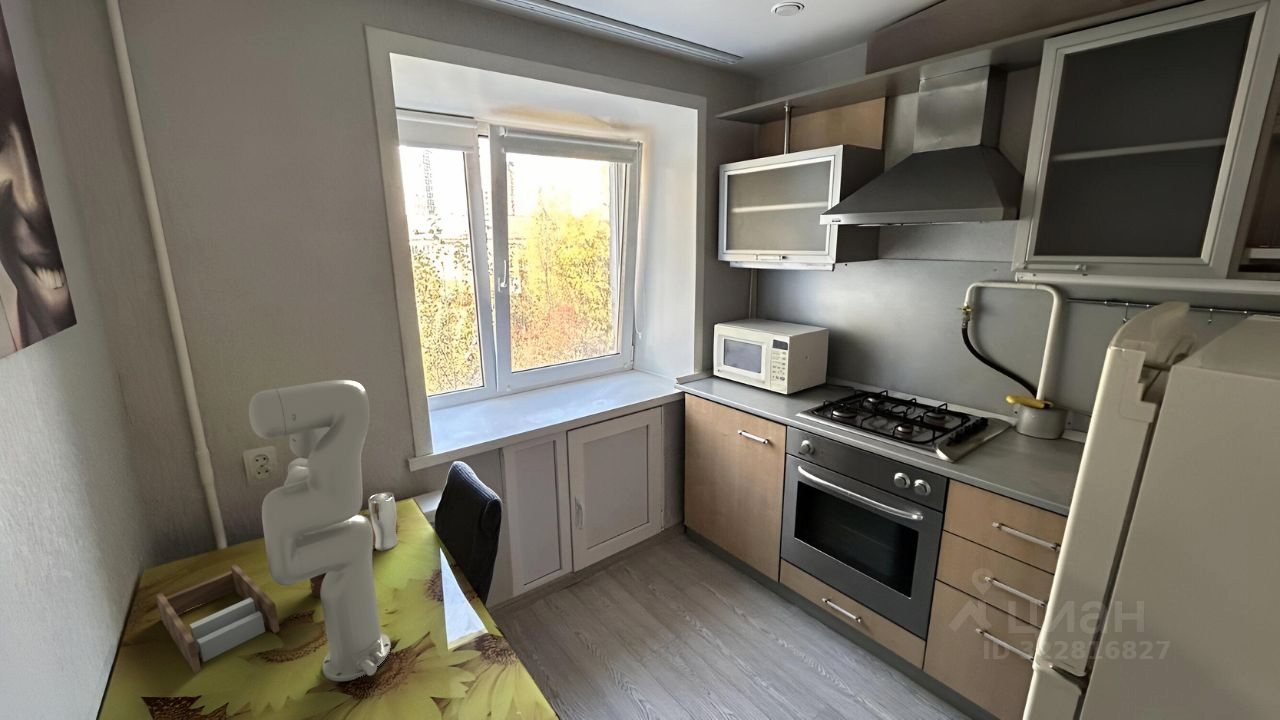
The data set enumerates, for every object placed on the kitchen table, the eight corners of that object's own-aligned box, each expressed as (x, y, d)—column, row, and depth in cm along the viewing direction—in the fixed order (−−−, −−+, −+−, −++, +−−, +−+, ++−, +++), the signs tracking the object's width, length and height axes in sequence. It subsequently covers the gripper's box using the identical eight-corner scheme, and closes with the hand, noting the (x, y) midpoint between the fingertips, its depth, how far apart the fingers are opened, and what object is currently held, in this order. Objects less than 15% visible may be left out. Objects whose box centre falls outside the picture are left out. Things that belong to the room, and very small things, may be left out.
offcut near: (258, 623, 119) (253, 600, 118) (197, 653, 110) (192, 628, 109) (254, 620, 120) (250, 597, 119) (194, 648, 111) (189, 624, 110)
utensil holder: (341, 581, 134) (335, 539, 131) (336, 596, 128) (329, 552, 126) (315, 586, 132) (309, 543, 130) (309, 601, 126) (301, 557, 124)
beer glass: (405, 542, 152) (399, 495, 149) (382, 554, 146) (376, 505, 143) (391, 536, 155) (385, 489, 152) (368, 547, 149) (362, 499, 147)
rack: (279, 630, 116) (274, 603, 115) (195, 673, 104) (188, 643, 103) (238, 586, 132) (233, 562, 131) (160, 619, 120) (154, 592, 119)
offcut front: (265, 632, 116) (262, 614, 115) (203, 662, 108) (199, 643, 107) (262, 628, 117) (258, 610, 116) (201, 658, 109) (196, 639, 108)
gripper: (345, 510, 123) (354, 574, 127) (314, 492, 134) (323, 551, 137) (310, 523, 118) (321, 590, 121) (281, 503, 128) (291, 565, 131)
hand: (322, 569), depth 129 cm, fingers open, 9 cm apart
